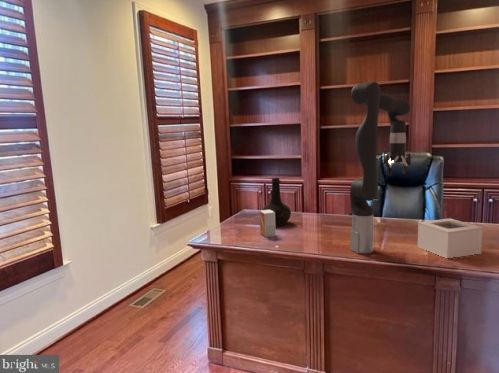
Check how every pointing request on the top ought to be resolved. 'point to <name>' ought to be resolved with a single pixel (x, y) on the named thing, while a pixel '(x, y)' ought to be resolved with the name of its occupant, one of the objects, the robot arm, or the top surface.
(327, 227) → the top surface
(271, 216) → the small box
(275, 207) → the glass bottle
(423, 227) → the slot box
